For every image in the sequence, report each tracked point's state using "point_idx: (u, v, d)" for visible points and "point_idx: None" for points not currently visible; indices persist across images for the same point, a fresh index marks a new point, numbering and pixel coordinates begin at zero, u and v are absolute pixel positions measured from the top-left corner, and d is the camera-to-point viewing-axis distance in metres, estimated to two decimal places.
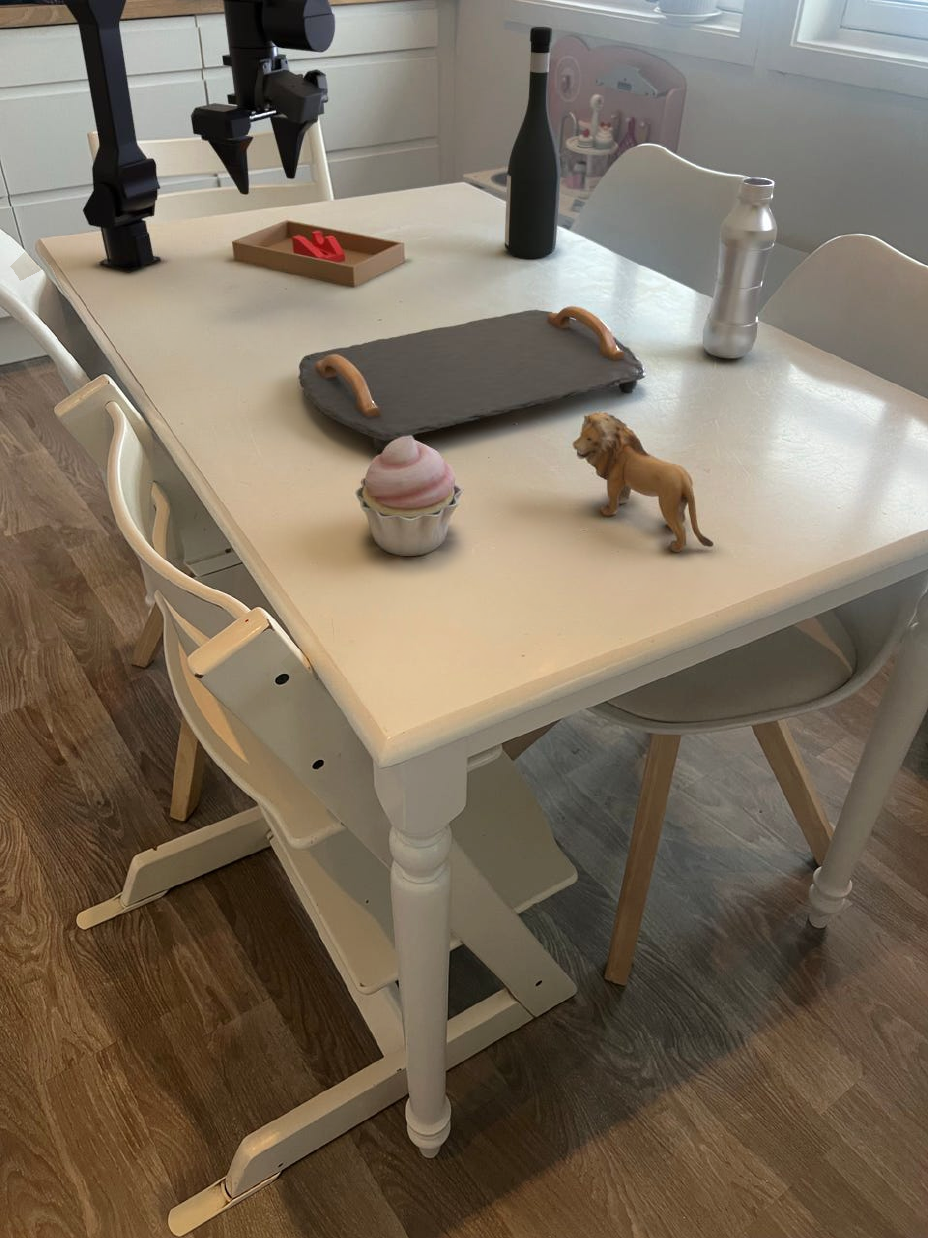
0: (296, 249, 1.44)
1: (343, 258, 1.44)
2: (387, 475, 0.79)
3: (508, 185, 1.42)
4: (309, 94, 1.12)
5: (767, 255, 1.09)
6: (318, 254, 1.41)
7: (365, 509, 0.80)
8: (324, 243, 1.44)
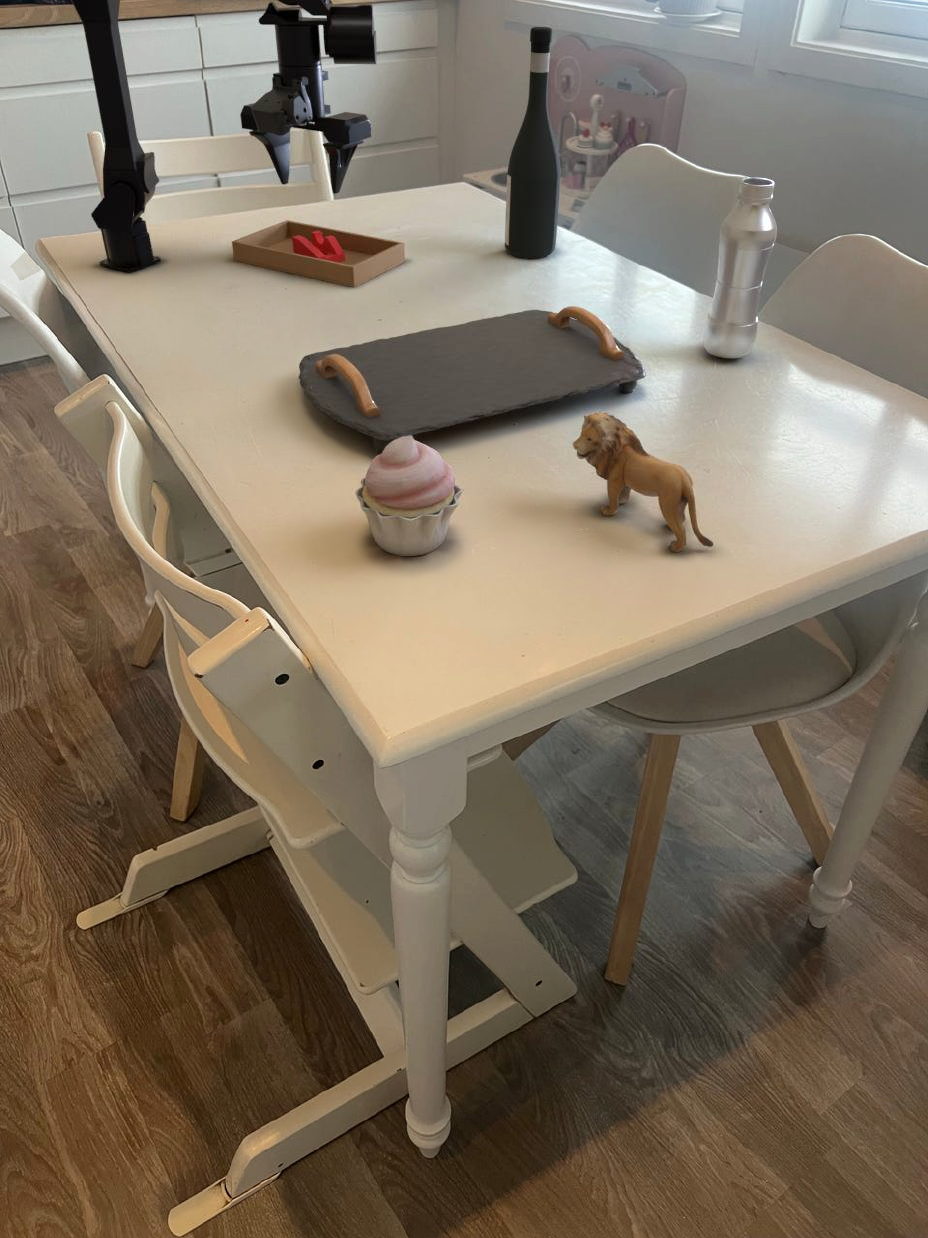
0: (296, 249, 1.44)
1: (343, 258, 1.44)
2: (387, 475, 0.79)
3: (508, 185, 1.42)
4: (260, 109, 1.25)
5: (767, 255, 1.09)
6: (318, 254, 1.41)
7: (365, 509, 0.80)
8: (324, 243, 1.44)
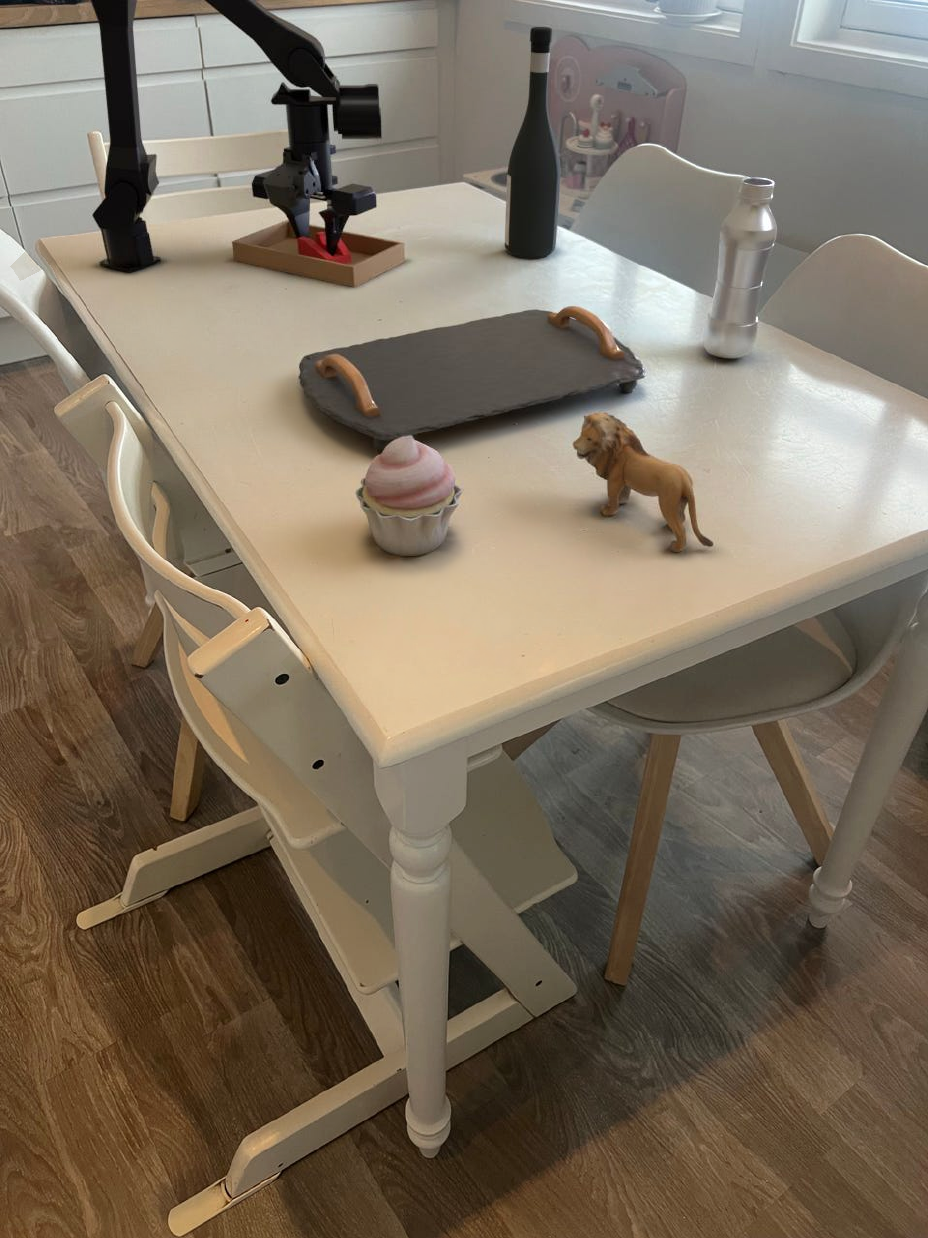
0: (302, 250, 1.43)
1: (349, 258, 1.43)
2: (387, 475, 0.79)
3: (508, 185, 1.42)
4: (272, 184, 1.32)
5: (767, 255, 1.09)
6: (325, 255, 1.41)
7: (365, 509, 0.80)
8: None
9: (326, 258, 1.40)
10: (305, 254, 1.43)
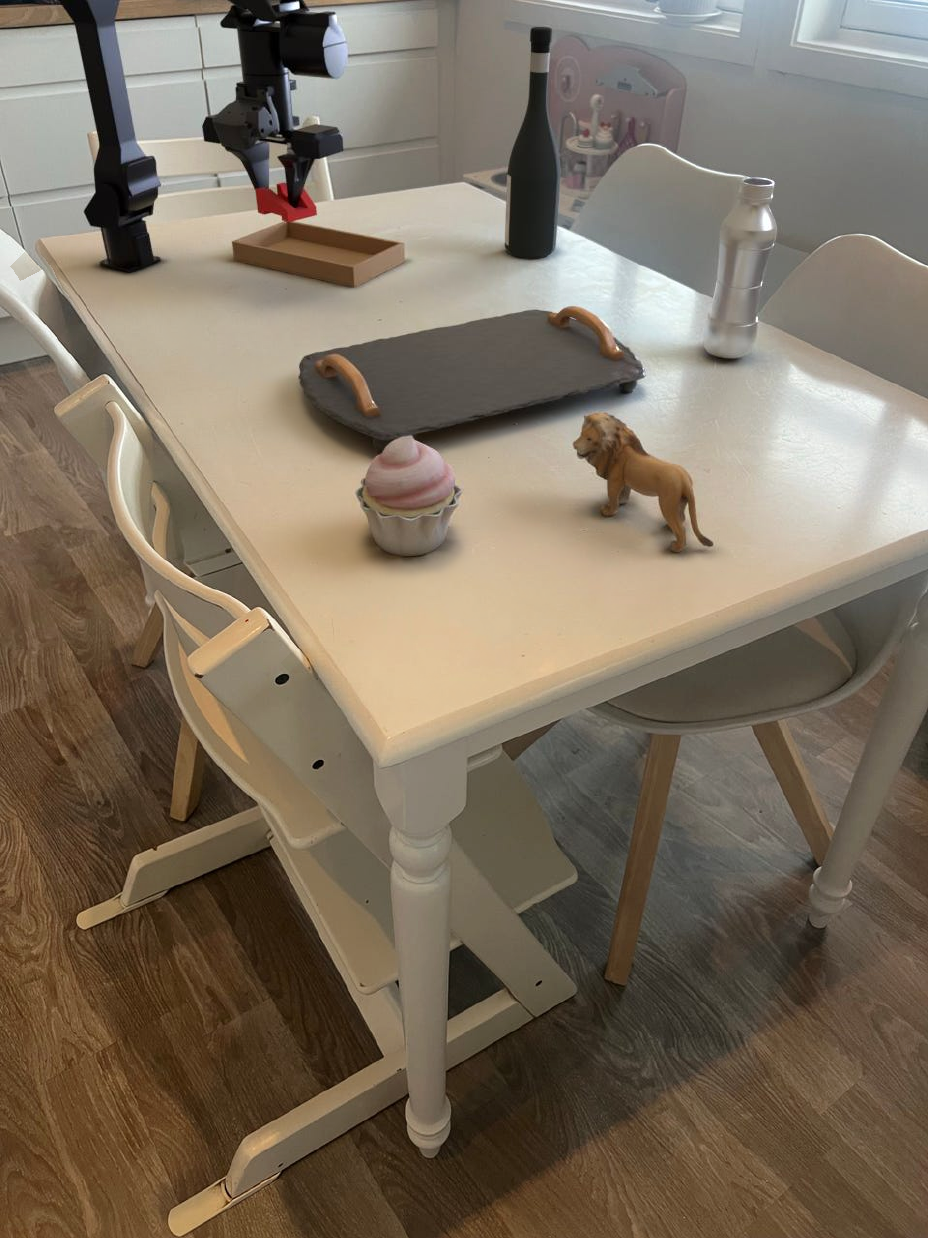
0: (261, 202, 1.27)
1: (315, 212, 1.27)
2: (387, 475, 0.79)
3: (508, 185, 1.42)
4: (222, 122, 1.15)
5: (767, 255, 1.09)
6: (287, 207, 1.24)
7: (365, 509, 0.80)
8: None
9: (288, 210, 1.24)
10: (264, 207, 1.27)
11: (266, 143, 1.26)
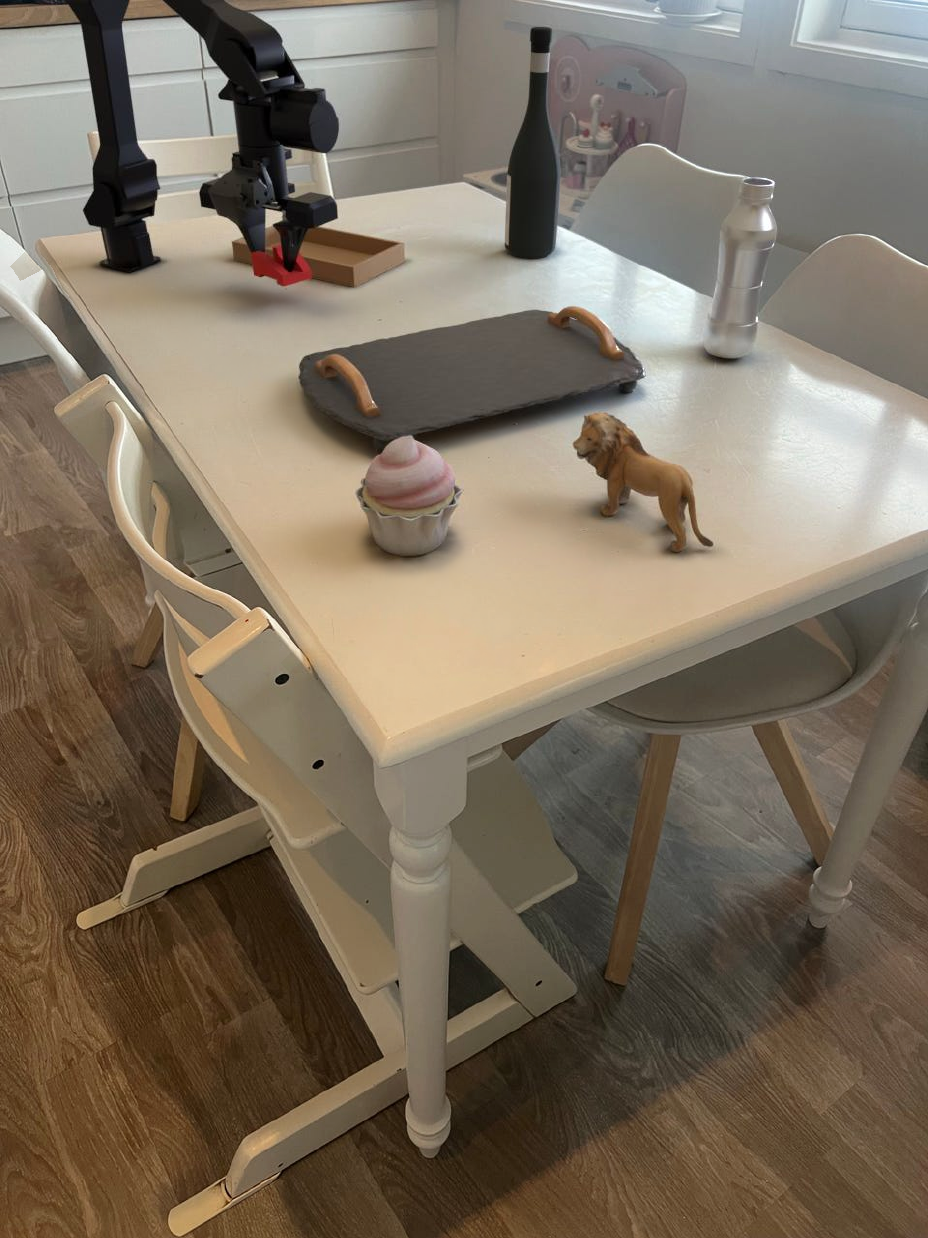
0: (257, 266, 1.29)
1: (310, 275, 1.29)
2: (387, 475, 0.79)
3: (508, 185, 1.42)
4: (218, 193, 1.17)
5: (767, 255, 1.09)
6: (282, 272, 1.26)
7: (365, 509, 0.80)
8: None
9: (283, 275, 1.26)
10: (260, 270, 1.28)
11: (262, 208, 1.28)
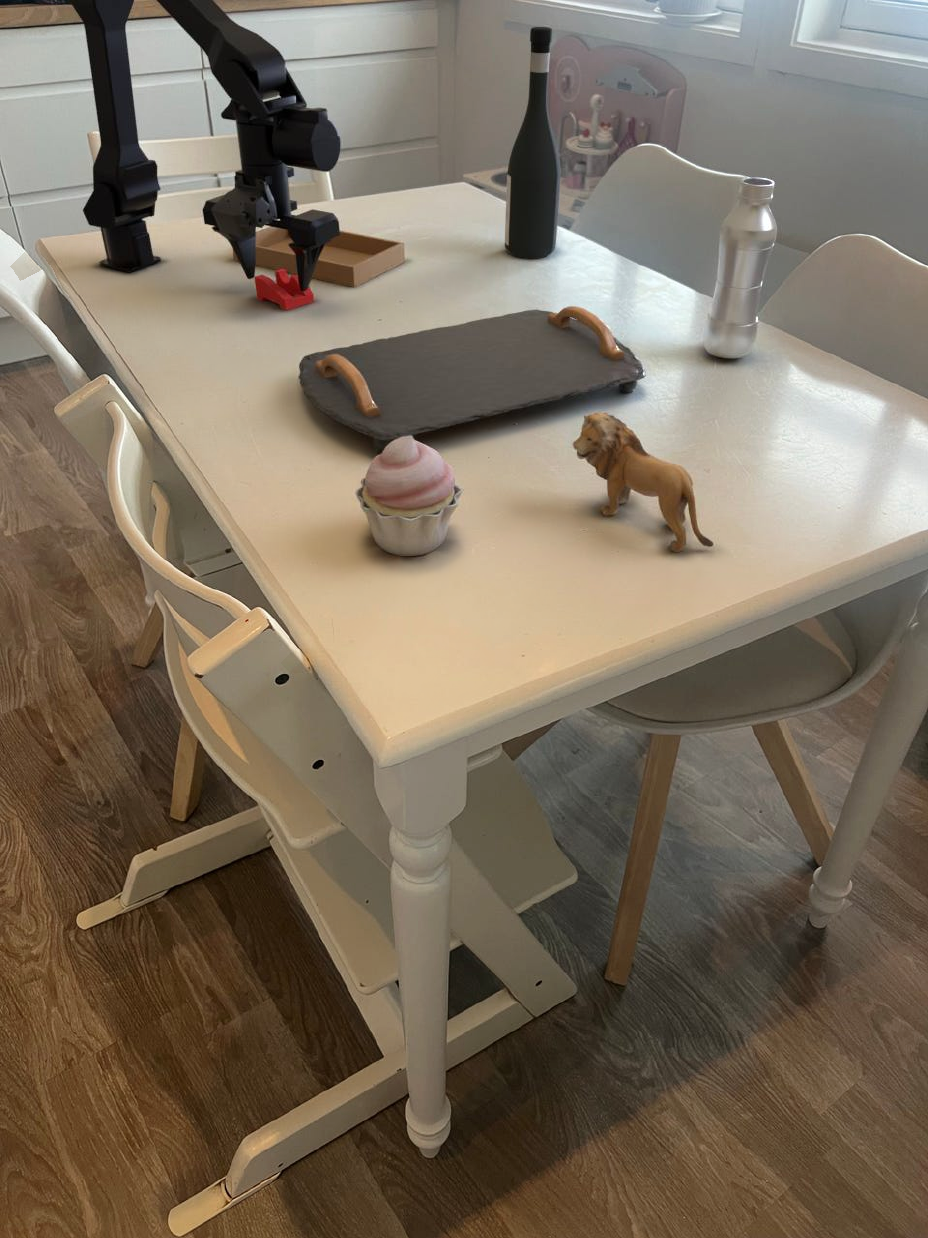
0: (260, 290, 1.30)
1: (312, 299, 1.31)
2: (387, 475, 0.79)
3: (508, 185, 1.42)
4: (221, 211, 1.18)
5: (767, 255, 1.09)
6: (285, 296, 1.28)
7: (365, 509, 0.80)
8: (290, 283, 1.31)
9: (285, 299, 1.28)
10: (263, 294, 1.30)
11: None
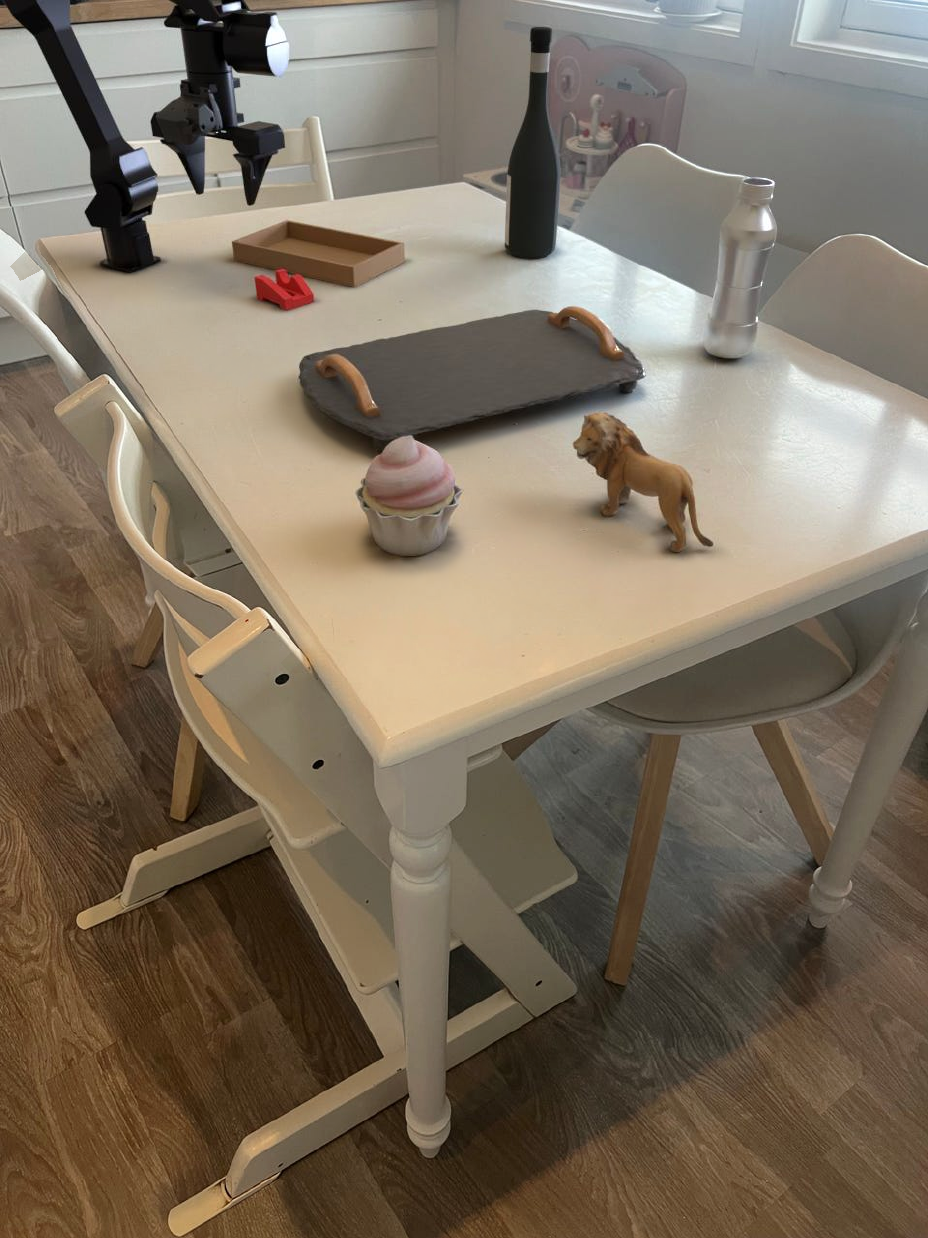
0: (260, 290, 1.30)
1: (312, 299, 1.31)
2: (387, 475, 0.79)
3: (508, 185, 1.42)
4: (165, 118, 1.19)
5: (767, 255, 1.09)
6: (285, 296, 1.28)
7: (365, 509, 0.80)
8: (290, 283, 1.31)
9: (285, 299, 1.28)
10: (263, 294, 1.30)
11: (201, 136, 1.31)
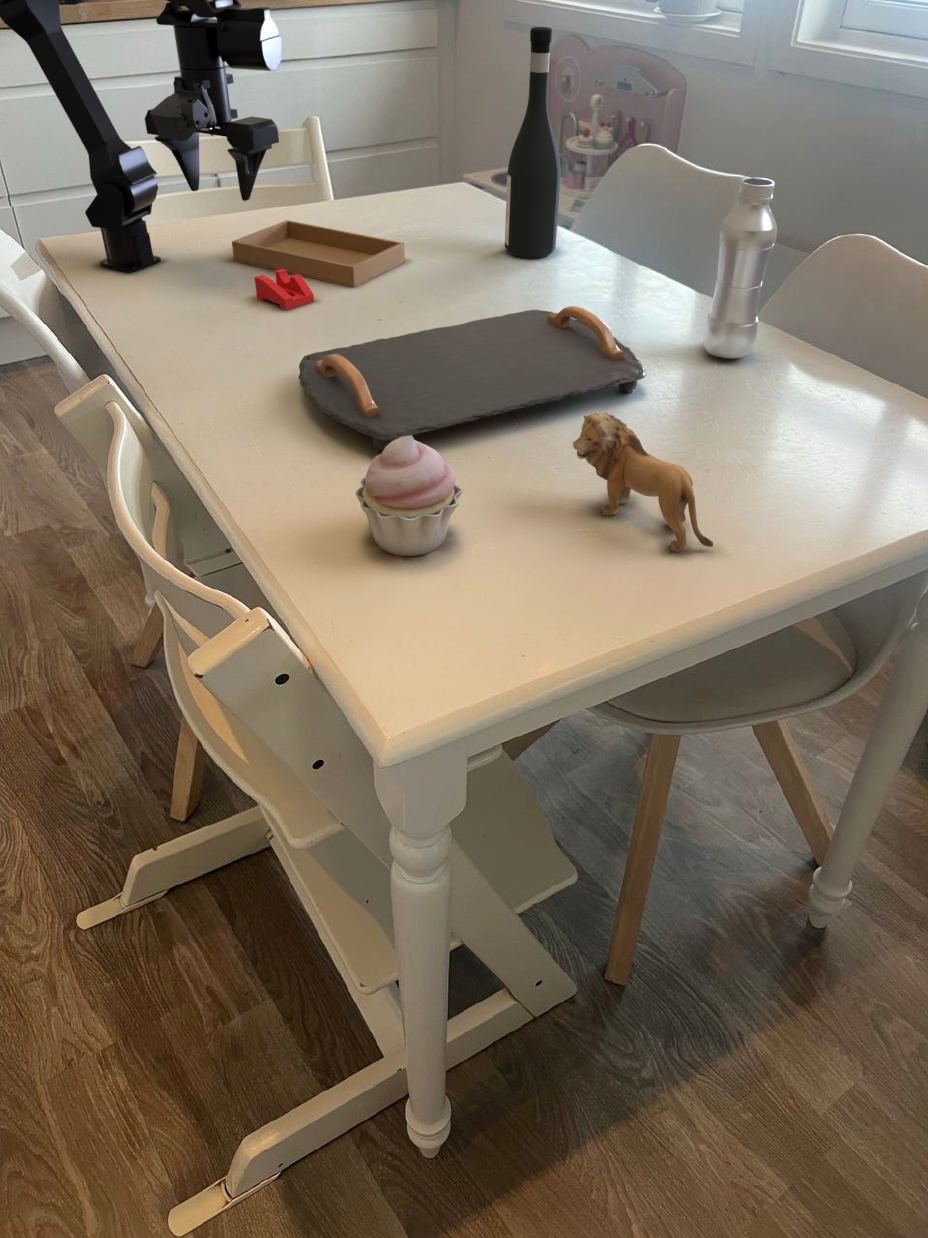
0: (260, 290, 1.30)
1: (312, 299, 1.31)
2: (387, 475, 0.79)
3: (508, 185, 1.42)
4: (159, 114, 1.20)
5: (767, 255, 1.09)
6: (285, 296, 1.28)
7: (365, 509, 0.80)
8: (290, 283, 1.31)
9: (285, 299, 1.28)
10: (263, 294, 1.30)
11: (195, 133, 1.32)
